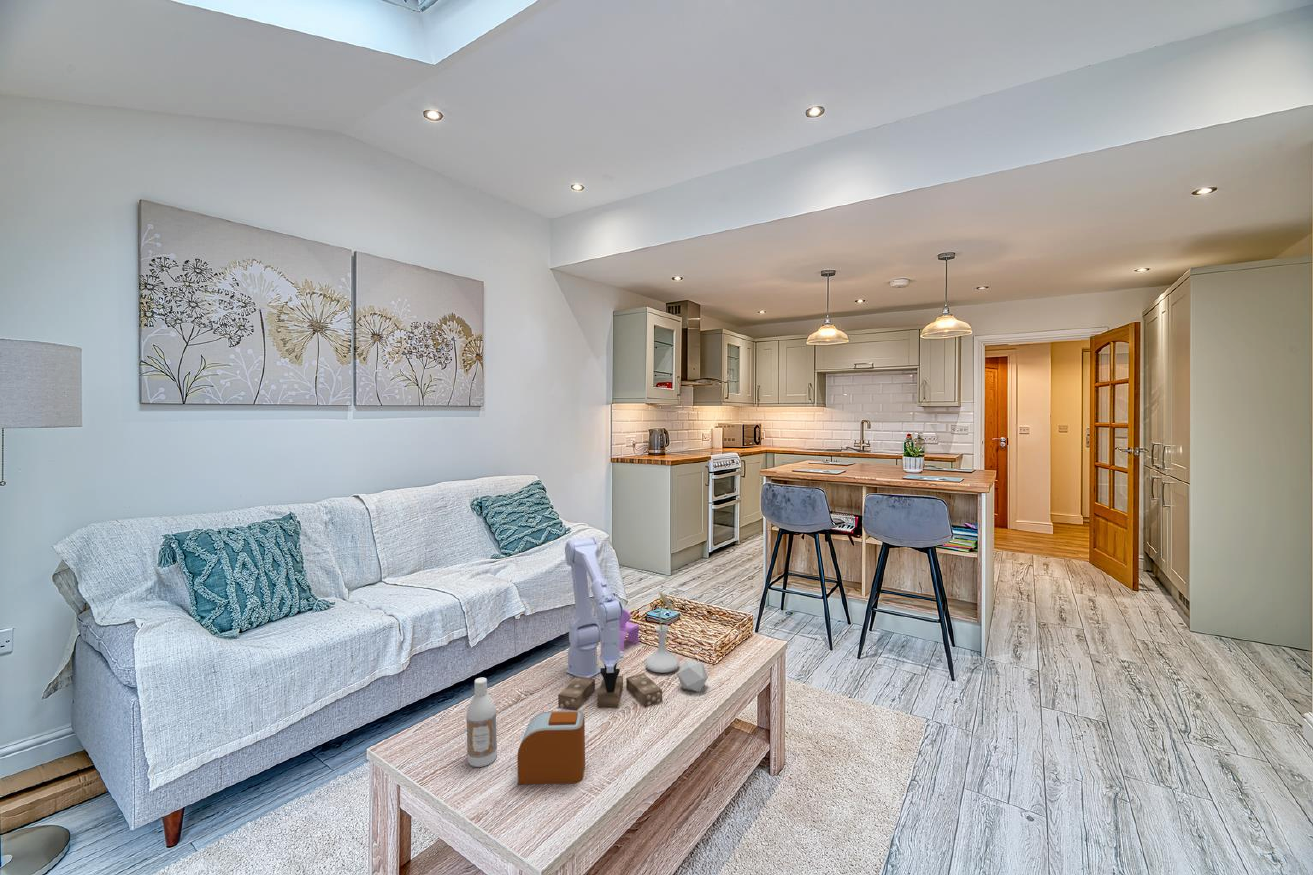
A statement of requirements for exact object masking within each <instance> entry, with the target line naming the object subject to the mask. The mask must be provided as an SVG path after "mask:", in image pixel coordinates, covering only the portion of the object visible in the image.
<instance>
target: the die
mask: <svg viewBox="0 0 1313 875" xmlns="http://www.w3.org/2000/svg"><path fill="white" fill-rule="evenodd" d="M676 675H677V678H678V680H679V683H680V684H681V688H682V690H688V691H690V692H691V691H692V692H698V693H700V692H701V690H702V688H703V686H704V685H705V683H706V682H707V680H708V678H709V677H708V674H707V671H706V669H705V666H704V664H703V662H701V661H697V660H693V659H692V660H691V659H685V661H684V662H683V663H682V665H681V667H680V668H679V669H678V671H677V673H676Z"/></svg>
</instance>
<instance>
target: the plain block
mask: <svg viewBox="0 0 1313 875" xmlns="http://www.w3.org/2000/svg"><path fill="white" fill-rule="evenodd" d="M623 690H624V676H623V675H618V677H617V679H616V684H615V690H614V692H607V691H606V686H605V681H604V678H603V677H602V681H601V683H600V686H599V689H598V693H597V709H598V708H599V709H603V708H604V709H619V708H620V702H621V697H622V694H623Z"/></svg>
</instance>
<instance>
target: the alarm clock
mask: <svg viewBox="0 0 1313 875" xmlns="http://www.w3.org/2000/svg"><path fill="white" fill-rule="evenodd" d="M585 727H586V725H585V713H584V712H583V711H582V710H577V711H575V710H548V711H544V712H540V713H539V714H537V715H535V716H534V717H533V718H532V719H530V721H529V722H528V723H527V726H526V729H525V730H524V733H523V736H522V739H521V742H520V745H519V747H518V749H517V758H516V759H517V785H546V784H547V785H549V784H550V785H551V784H554V785H555V784H557V785H558V784H559V785H560V784H576V783H579V782H581V781H582V780H583V778H584V774H585V768H586V741H585V740H586V739H585V737H586V736H585V735H586V734H585V731H586V728H585Z"/></svg>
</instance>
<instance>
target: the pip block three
mask: <svg viewBox="0 0 1313 875" xmlns="http://www.w3.org/2000/svg"><path fill="white" fill-rule="evenodd" d="M595 692H596V679H595V678H592V677H591V678H585V677H579V676H575V678H574V679H573V680H572V681H571V682H570V683H569V684H567V686H566V687H565V688H563V689H562V690H561V691H560V693H558V695H557V696H558V697H557V699H558V700H557V701H558V702H557V703H558V708H560V709H565V710H569V711H579V709H580V708H581V707H582V706H583V705H585V704H584V703H585V702H586V701H587V700H589V698H590V697H591V696H592V695H593V693H595Z"/></svg>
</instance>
